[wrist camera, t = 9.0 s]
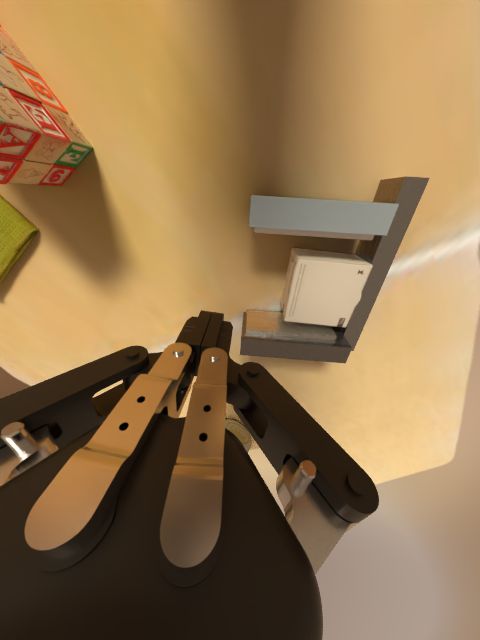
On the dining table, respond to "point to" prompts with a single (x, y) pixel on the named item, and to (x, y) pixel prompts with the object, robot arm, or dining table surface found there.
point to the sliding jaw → (320, 217)
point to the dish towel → (13, 236)
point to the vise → (337, 342)
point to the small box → (323, 287)
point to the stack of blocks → (33, 125)
